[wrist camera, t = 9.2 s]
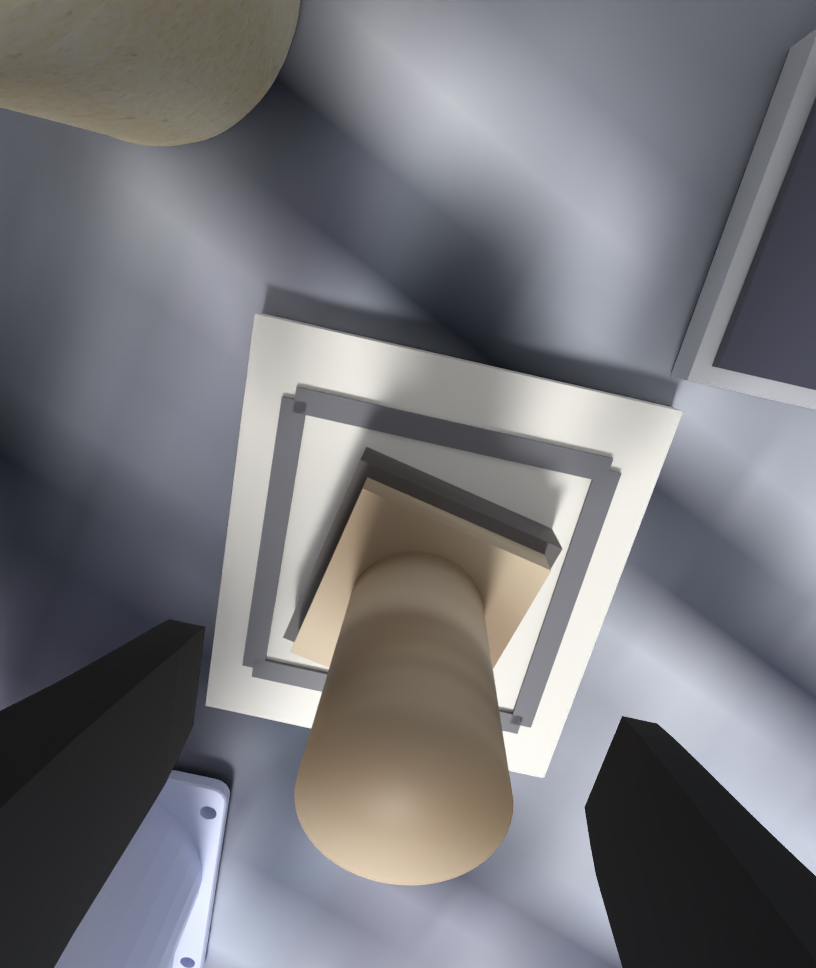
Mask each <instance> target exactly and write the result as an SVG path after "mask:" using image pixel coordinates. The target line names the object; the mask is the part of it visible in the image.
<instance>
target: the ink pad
mask: <svg viewBox="0 0 816 968" xmlns="http://www.w3.org/2000/svg"><path fill="white" fill-rule="evenodd" d="M671 376H674V377H678V378H681V379H684V380H688V381H692V382H697V383H701V384H705V385H710V386H714V387H718V388H723V389H727V390H731V391H736V392H740V393H745V394H749V395H753V396H758V397H762V398H766V399H771V400H775V401H779V402H784V403H788V404H792V405H797V406H801V407H805V408H810V409H814V410H816V29H815V30H813V31H812V32H811V33H809V34H808V35H807V36H805V37H804V38H803V39H801V40H800V41H798V42H797V43H796V44H794V45H793V46H792V47H790V50H789V53H788V55H787V58H786V61H785V63H784V66H783V69H782V72H781V74H780V77H779V80H778V83H777V85H776V88H775V91H774V94H773V96H772V99H771V102H770V105H769V107H768V110H767V113H766V116H765V118H764V121H763V124H762V127H761V129H760V132H759V135H758V138H757V140H756V143H755V146H754V148H753V151H752V154H751V157H750V159H749V162H748V165H747V168H746V170H745V173H744V176H743V179H742V181H741V184H740V187H739V190H738V192H737V195H736V198H735V201H734V203H733V206H732V209H731V212H730V214H729V217H728V220H727V222H726V225H725V228H724V231H723V233H722V236H721V239H720V242H719V244H718V247H717V250H716V253H715V255H714V258H713V261H712V264H711V266H710V269H709V272H708V275H707V277H706V280H705V283H704V286H703V288H702V291H701V294H700V297H699V299H698V302H697V305H696V307H695V310H694V313H693V316H692V318H691V321H690V324H689V327H688V329H687V332H686V335H685V338H684V340H683V343H682V346H681V349H680V351H679V354H678V357H677V360H676V362H675V365H674V368H673V371H672V373H671Z"/></svg>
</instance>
